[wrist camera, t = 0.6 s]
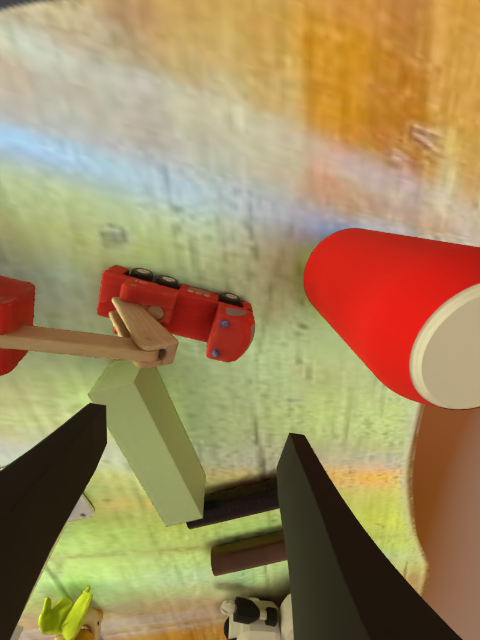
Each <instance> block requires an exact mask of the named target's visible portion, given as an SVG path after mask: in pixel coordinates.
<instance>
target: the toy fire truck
mask: <svg viewBox="0 0 480 640" xmlns="http://www.w3.org/2000/svg"><path fill="white" fill-rule="evenodd" d="M153 275H154V274H153V273H152V272H151V271H149V270H146V269H142V268H134V269H132V272H131V274H130V276H129V269H127V268H124V267H121V266H117V265H116V266H113V267H111V268H109V269H108V270H105V271H104V272H103V275H102V282H101V289H100V296H99V303H98V309H97V315H100V316H103V317H108V318H110V319H111V321H112V323H113V325H114V327H113V332H114V333H115V334H118V335H119V337H118V336H110V335H102V334H94V333H87V332H79V331H71V330H62V329H54V328H46V327H38V326H33V318H34V301H35V298H34V297H35V285H33V284H31V283H30V282H25V281H20V280H16V279H12V278H8V277H4V276H2V275H0V376H2V375H4V374H7V373H9V372H11V371H12V370H13V369H14V368H15V367H16V366H17V364H18V363H19V361H21V359H22V358H23V357H24V356H25V355H26V353H27V352H28V351H39V352H48V353H59V354H69V355H79V356H89V357H95V358H98V357H99V358H108V359H119V360H131V361H132V362H133V364H134V365H135V366H137V367H139V368H142V369H143V368H152V367H157V366H161V365H166V364H171V363H173V360H174V357H175V353H176V350H177V346H178V340H177V339H176V338H175V337H174V336H173V335H172V334H175V335H179V336H183V337H187V338H191V339H195V340H199V341H204V342H207V351H206V356H207V357H208V358H210V359H214V360H219V361H223V362H231V361H236V360H237V359H238V358H239V357H241V356H242V355H243V354H244V353H245V351H246V350H247V349H248V347H249V346H250V344H251V342H252V340H253V337H254V332H255V320H254V316H253V310H252V306H251V304H250V303H248V302H241V303H240V298H239V297H238V296H236V295H234V294H230V293H223V294H222V295H221V296H219V295H218V294H216V293H212V292H209V291H205V290H202V289H198V288H195V287H191V286H188V285H179V284H178V281H177V280H176V279H174V278H172V277H169V276H159V277H158V279H157V284H155V283H152V280H153Z"/></svg>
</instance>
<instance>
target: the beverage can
mask: <svg viewBox="0 0 480 640" xmlns="http://www.w3.org/2000/svg"><path fill="white" fill-rule="evenodd" d="M304 288H305V292H306V295H307V297H308V299H309V301H310V302H311V304H312V305H313V306H314V307H315V309H316V310H317V311H318V312H319V313H320V314H321V315H322V316H323V317H324V319H325V320H326V321H327V322H328V323H329V324H330V325H331V326H332V328H333V329H334V330H335V331H336V332H337V333H338V334H339V335H340V337H341V338H342V339H343V340H344V341H345V342H346V343H347V344H348V346H349V347H350V348H351V349H352V350H353V351H354V352H355V353H356V354H357V356H358V357H359V358H360V359H361V360H362V361H363V362H364V363H365V365H366V366H367V367H368V368H369V369H370V370H371V371H372V372H373V374H374V375H375V376H376V377H377V378H378V379H379V380H380V381H381V382H382V383H383V384H384V385H385V386H387V387H388V388H389V389H391V390H392V391H394V392H395V393H397V394H399V395H401V396H403V397H405V398H407V399H410V400H413V401H416V402H419V403H423V404H428V405H432V406H436V407H440V408H445V409H451V410H467V409H474V408H479V407H480V247H473V246H467V245H461V244H454V243H448V242H442V241H436V240H429V239H423V238H417V237H411V236H404V235H398V234H392V233H385V232H379V231H373V230H367V229H360V228H351V229H345V230H341V231H338V232H336V233H334V234H332V235H330V236H328V237H327V238H325V239H324V240H323V241H322V242H321V243H319V244H318V245H317V247H316V248H315V249H314V250H313V252H312V253H311V255H310V257H309V259H308V261H307V263H306V266H305V271H304Z"/></svg>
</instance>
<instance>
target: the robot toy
mask: <svg viewBox="0 0 480 640" xmlns="http://www.w3.org/2000/svg"><path fill="white" fill-rule="evenodd" d="M220 610H221V613H222V614H225V615H229V618H228V619H227V620H226V622H225V625H224V634H225V636H226V638H227V639H228V640H294V636H293V619H292V603H291V593H290V594H289V595H287V597H286V598H285V599H284V601H283V602H282V604H281V606H280V610H279V612H278V608H277V606H276V605H275V604H274V603H273V602H270V601H259V599H258V598H256V597H249V598H248V599H245V598H240V597H236V599H235V602H233V601H232V600H225V601H224V602H223V603H222V604H221V608H220Z"/></svg>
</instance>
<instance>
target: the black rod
mask: <svg viewBox="0 0 480 640" xmlns="http://www.w3.org/2000/svg"><path fill="white" fill-rule="evenodd" d="M279 508H280V506H279V499H278V486H277V478H275V479H271V480H267V481H263V482H259V483H254V484H250V485H246V486H242V487H238V488H234V489H230V490H226V491H221V492H217V493H213V494H209V495H205V496H204V507H203V518H201V519H197V520H193V521H189V522H186V524H187V527H188V528H189V529H194V528H198V527H202V526H207V525H211V524H215V523H219V522H224V521H228V520H232V519H236V518H241V517H245V516H249V515H253V514H257V513H262V512H266V511H270V510H274V509H279Z"/></svg>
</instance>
